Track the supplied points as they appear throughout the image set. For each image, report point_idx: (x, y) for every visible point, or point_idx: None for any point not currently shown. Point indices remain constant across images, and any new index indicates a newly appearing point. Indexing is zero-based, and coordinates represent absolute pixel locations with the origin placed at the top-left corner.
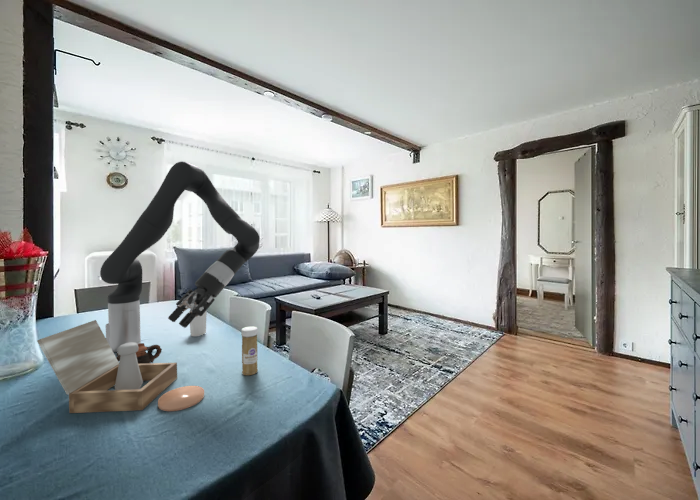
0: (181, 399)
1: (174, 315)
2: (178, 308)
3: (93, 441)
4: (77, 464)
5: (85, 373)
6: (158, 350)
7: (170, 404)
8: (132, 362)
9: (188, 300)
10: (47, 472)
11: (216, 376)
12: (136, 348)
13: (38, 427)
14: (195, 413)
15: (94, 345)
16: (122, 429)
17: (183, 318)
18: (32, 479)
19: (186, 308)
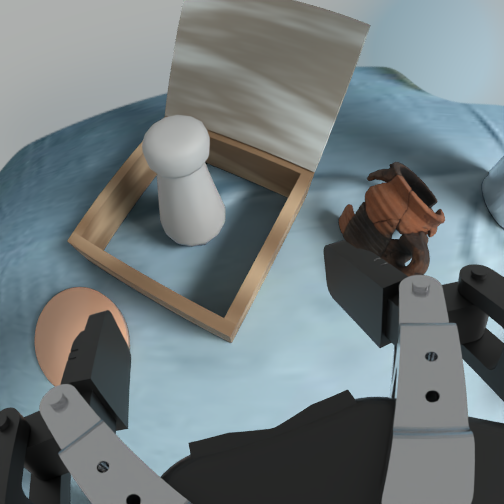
0: (58, 337)
1: (345, 279)
2: (393, 296)
3: (44, 198)
4: (11, 194)
5: (215, 109)
6: (403, 271)
7: (52, 312)
8: (160, 185)
9: (376, 408)
10: (22, 169)
11: (175, 451)
12: (154, 167)
13: (151, 119)
14: (16, 355)
15: (293, 75)
16: (45, 232)
17: (91, 336)
18: (22, 160)
19: (392, 373)
